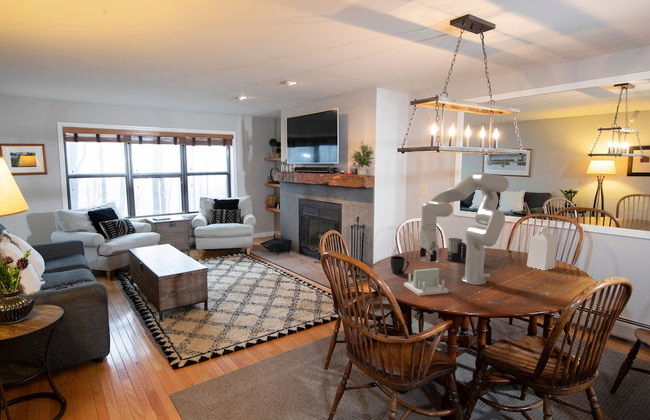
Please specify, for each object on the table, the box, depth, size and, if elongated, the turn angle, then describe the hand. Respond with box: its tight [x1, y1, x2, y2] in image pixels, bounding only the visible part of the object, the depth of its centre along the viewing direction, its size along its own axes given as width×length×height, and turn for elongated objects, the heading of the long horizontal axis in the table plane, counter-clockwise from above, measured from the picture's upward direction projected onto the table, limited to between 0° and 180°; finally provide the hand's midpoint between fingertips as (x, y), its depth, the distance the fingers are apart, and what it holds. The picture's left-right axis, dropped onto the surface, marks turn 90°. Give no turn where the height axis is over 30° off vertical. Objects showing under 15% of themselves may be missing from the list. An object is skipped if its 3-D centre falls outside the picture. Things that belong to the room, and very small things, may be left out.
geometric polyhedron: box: [420, 251, 439, 263], centre depth 255 cm, size 12×11×9 cm
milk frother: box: [447, 237, 467, 263], centre depth 256 cm, size 14×16×15 cm
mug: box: [390, 255, 410, 275], centre depth 225 cm, size 8×12×10 cm
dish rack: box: [403, 273, 450, 296], centre depth 200 cm, size 17×16×6 cm
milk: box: [526, 226, 557, 271], centre depth 241 cm, size 12×12×26 cm
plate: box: [412, 267, 440, 288], centre depth 199 cm, size 14×2×9 cm, turn 108°
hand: (427, 259), depth 198 cm, fingers open, 9 cm apart
